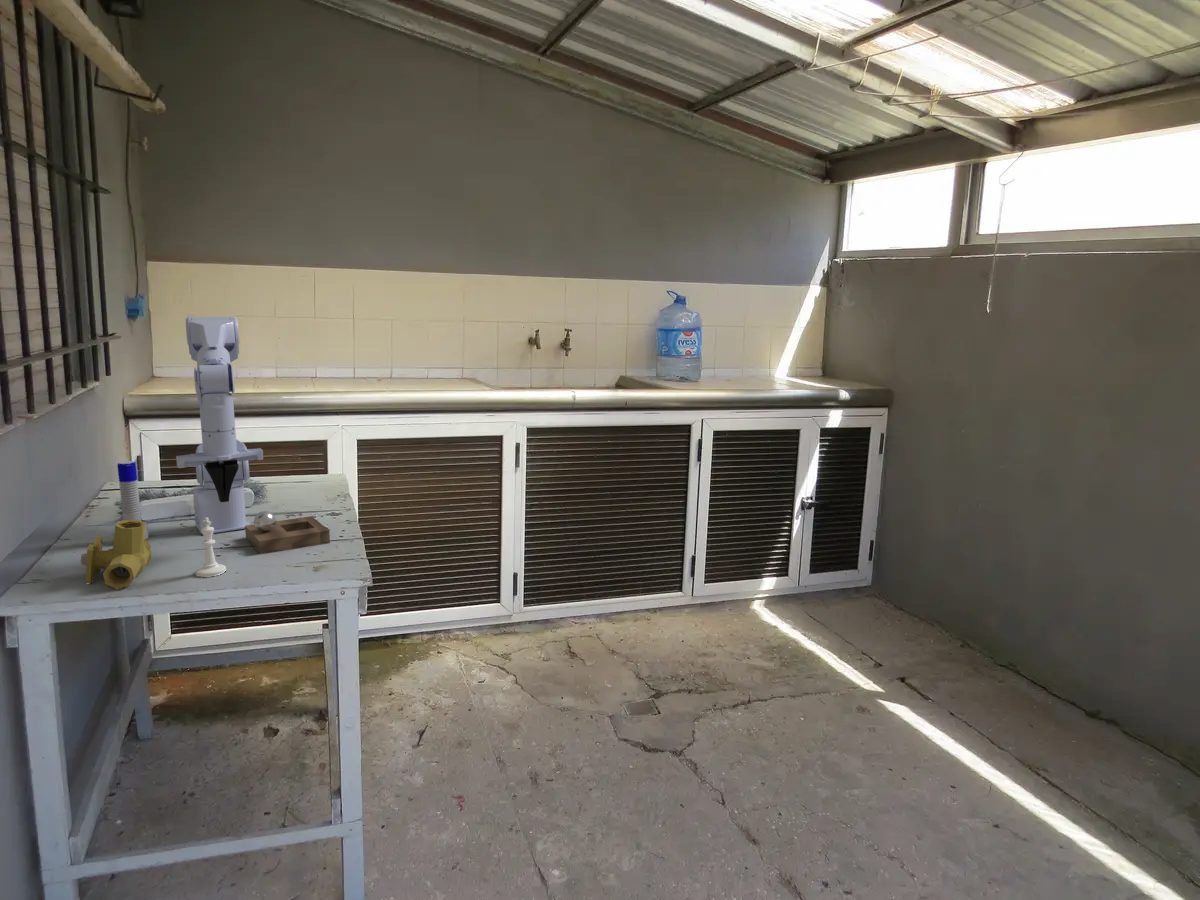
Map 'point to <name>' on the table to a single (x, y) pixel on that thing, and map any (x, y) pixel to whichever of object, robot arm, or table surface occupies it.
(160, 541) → the table surface
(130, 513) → the bolt
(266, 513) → the steel ball
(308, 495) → the table surface
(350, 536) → the table surface
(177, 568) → the table surface
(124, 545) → the ball valve
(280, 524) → the pocket board
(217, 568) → the chess piece
